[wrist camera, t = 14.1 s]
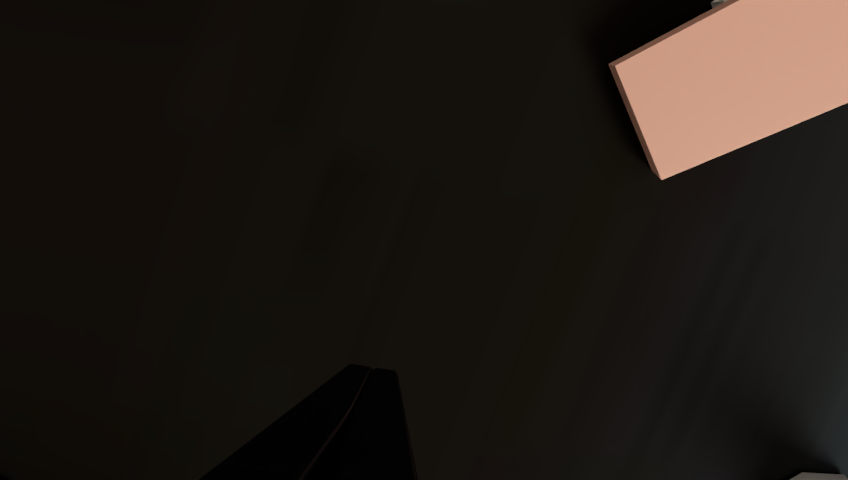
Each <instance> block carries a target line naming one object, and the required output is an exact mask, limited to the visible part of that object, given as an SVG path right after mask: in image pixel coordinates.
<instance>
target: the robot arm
mask: <svg viewBox="0 0 848 480" xmlns="http://www.w3.org/2000/svg"><path fill="white" fill-rule="evenodd" d="M199 480H418V477H417V472H416V467H415V462H414V457H413V452H412V447H411V441H410V436H409V431H408V426H407V421H406V416H405V411H404V406H403V401H402V395H401V390H400V385H399V380H398V375H397V373H396V372H395V371H394V370H387V369H381V368H375V369H374V370H373V369H372V368H371V367H369V366H362V365H356V364H350V365H348V366H347V367H345V368H344V369H343V370H341V371H340V372H339V373H337V374H336V375H335V376H334V377H332V378H331V379H330V380H328V381H327V382H326V383H324V384H323V385H322V386H320V387H319V388H318V389H317V390H315V391H314V392H313V393H311V394H310V395H309V396H307V397H306V398H305V399H303V400H302V401H301V402H300V403H298V404H297V405H296V406H294V407H293V408H292V409H290V410H289V411H288V412H286V413H285V414H284V415H283V416H281V417H280V418H279V419H277V420H276V421H275V422H273V423H272V424H271V425H270V426H268V427H267V428H266V429H264V430H263V431H262V432H260V433H259V434H258V435H256V436H255V437H254V438H253V439H251V440H250V441H249V442H247V443H246V444H245V445H243V446H242V447H241V448H239V449H238V450H237V451H236V452H234V453H233V454H232V455H230V456H229V457H228V458H226V459H225V460H224V461H222V462H221V463H220V464H219V465H217V466H216V467H215V468H213V469H212V470H211V471H209V472H208V473H207V474H206V475H204V476H203V477H202V478H200V479H199Z"/></svg>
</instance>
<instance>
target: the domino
mask: <svg viewBox="0 0 848 480" xmlns="http://www.w3.org/2000/svg"><path fill="white" fill-rule="evenodd" d="M608 65H609V68H610V70H611V72H612V75H613V77H614V80H615V82H616V85H617V87H618V89H619V92H620V94H621V97H622V99H623V102H624V104H625V106H626V109H627V111H628V114H629V116H630V119H631V121H632V123H633V126H634V128H635V131H636V133H637V136H638V138H639V141H640V143H641V145H642V148H643V150H644V153H645V155H646V158H647V160H648V162H649V165H650V167H651V170H652V171H653V172H654V173H655V174H656V175H657V176H658V177H659V178H660V179H661V180H663V179H665V178H668V177H670V176H673V175H675V174H677V173H680V172H682V171H685V170H687V169H689V168H692V167H694V166H697V165H699V164H701V163H704V162H706V161H709V160H711V159H713V158H716V157H718V156H721V155H723V154H726V153H728V152H730V151H733V150H735V149H738V148H740V147H742V146H745V145H747V144H750V143H752V142H754V141H757V140H759V139H762V138H764V137H766V136H769V135H771V134H774V133H776V132H779V131H781V130H783V129H786V128H788V127H791V126H793V125H795V124H798V123H800V122H803V121H805V120H807V119H810V118H812V117H815V116H817V115H819V114H822V113H824V112H827V111H829V110H832V109H834V108H836V107H839V106H841V105H844V104H846V103H848V0H728V1H726V2H724V3H722V4H720V5H718V6H716V7H715V8H713V9H711V10H709V11H707V12H705V13H703V14H701V15H700V16H698V17H696V18H694V19H692V20H690V21H688V22H686V23H685V24H683V25H681V26H679V27H677V28H675V29H673V30H671V31H670V32H668V33H666V34H664V35H662V36H660V37H658V38H656V39H654V40H653V41H651V42H649V43H647V44H645V45H643V46H641V47H639V48H638V49H636V50H634V51H632V52H630V53H628V54H626V55H624V56H623V57H621V58H619V59H617V60H615V61H613V62H611V63H609V64H608Z"/></svg>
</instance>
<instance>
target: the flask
mask: <svg viewBox="0 0 848 480" xmlns="http://www.w3.org/2000/svg"><path fill="white" fill-rule="evenodd" d="M789 480H848V478H847V477H846V476H845V475H841V474H823V473H805V472H802V473H800V474H798V475H796V476H795V477H793V478H791V479H789Z"/></svg>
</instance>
